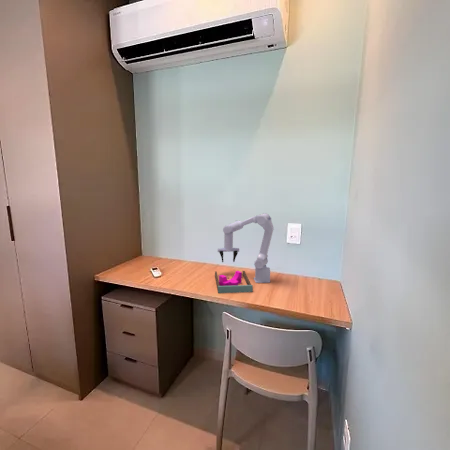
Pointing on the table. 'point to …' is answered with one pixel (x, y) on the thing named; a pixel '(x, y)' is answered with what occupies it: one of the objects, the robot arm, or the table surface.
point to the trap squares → (228, 276)
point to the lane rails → (243, 276)
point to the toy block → (231, 282)
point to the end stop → (235, 289)
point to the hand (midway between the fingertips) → (228, 261)
